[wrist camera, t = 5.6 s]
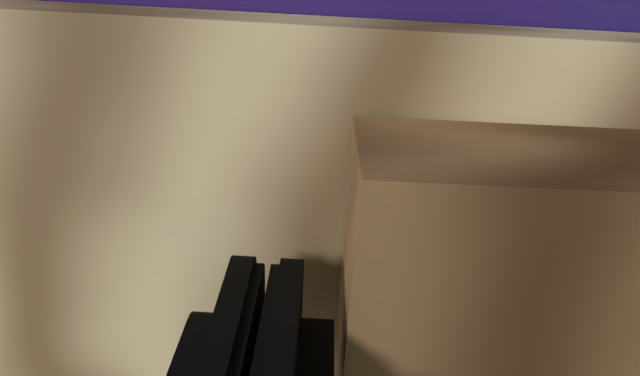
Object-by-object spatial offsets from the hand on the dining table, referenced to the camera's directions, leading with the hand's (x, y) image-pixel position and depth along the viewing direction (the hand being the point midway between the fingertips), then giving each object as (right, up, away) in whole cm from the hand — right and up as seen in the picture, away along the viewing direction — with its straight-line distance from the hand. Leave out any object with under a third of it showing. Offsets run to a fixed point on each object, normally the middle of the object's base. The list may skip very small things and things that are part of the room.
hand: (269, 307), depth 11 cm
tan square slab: (+6, 0, +1) cm, 6 cm away
